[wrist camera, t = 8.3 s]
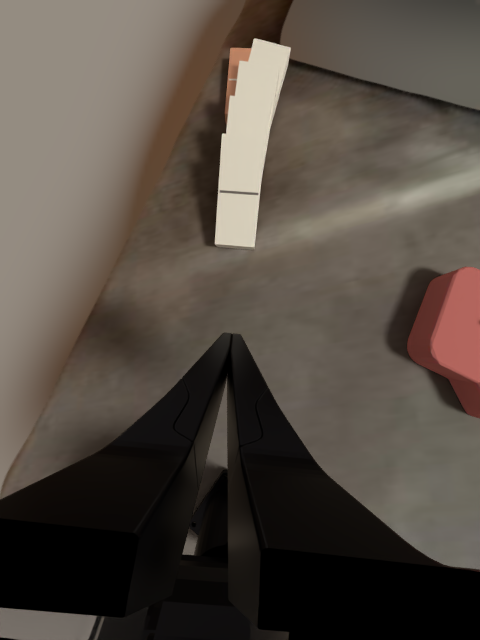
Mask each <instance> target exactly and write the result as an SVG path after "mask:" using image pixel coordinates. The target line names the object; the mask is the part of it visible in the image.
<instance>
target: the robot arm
mask: <svg viewBox="0 0 480 640" xmlns="http://www.w3.org/2000/svg"><path fill="white" fill-rule="evenodd" d="M227 374H228V375H227ZM226 380H227V449H228V470H223V471H222V473H221V474H220V476H219V477H218V479H217V480H216V482H215V483H214V485H213V486H212V488H211V489H210V491H209V492H208V493H207V495H206V496H205V498H204V499H203V501H202V502H201V504H200V505H199V507H198V508H197V510H196V511H195V513H194V514H193V510H194V506H195V502H196V498H197V494H198V490H199V486H200V482H201V478H202V474H203V470H204V466H205V462H206V459H207V455H208V451H209V447H210V443H211V439H212V435H213V431H214V427H215V423H216V419H217V415H218V411H219V407H220V404H221V400H222V396H223V392H224V388H225V384H226ZM224 475H227V476H228V477H224ZM192 514H193V516H192ZM193 522H196V523H195V524H194V523H193ZM189 526H190V528H191V529H192V530H193V531H194V532H195V533H196V534H197V535H198V540H197V544H196V548H195V552H194V555H182V553H183V549H184V545H185V541H186V537H187V533H188V529H189ZM0 640H480V570H478V569H471V568H460V567H450V566H447V565H443V564H441V563H439V562H437V561H435V560H433V559H431V558H429V557H428V556H426V555H424V554H423V553H421V552H420V551H418V550H417V549H415V548H414V547H413V546H411V545H410V544H409V543H408V542H406V541H405V540H404V539H402V538H401V537H400V536H399V535H398V534H396V533H395V532H394V531H393V530H392V529H391V528H389V527H388V526H387V525H386V524H385V523H383V522H382V521H381V520H380V519H379V518H378V517H376V516H375V515H374V514H373V513H372V512H370V511H369V510H368V509H367V508H366V507H365V506H363V505H362V504H361V503H360V502H359V501H357V500H356V499H355V498H354V497H353V496H352V495H350V494H349V493H348V492H347V491H346V490H344V489H343V488H342V487H341V486H340V485H339V484H337V483H336V482H335V481H334V480H333V479H332V478H330V477H329V476H328V475H327V474H326V473H325V472H324V471H323V470H322V468H321V467H320V466H319V465H318V464H317V462H316V461H315V460H314V459H313V457H312V456H311V454H310V453H309V451H308V450H307V448H306V447H305V445H304V444H303V442H302V441H301V439H300V438H299V437H298V435H297V434H296V432H295V431H294V429H293V428H292V426H291V425H290V423H289V422H288V420H287V419H286V417H285V415H284V414H283V412H282V411H281V409H280V408H279V406H278V404H277V402H276V401H275V399H274V397H273V395H272V393H271V391H270V389H269V388H268V386H267V384H266V382H265V380H264V378H263V376H262V374H261V372H260V370H259V368H258V367H257V365H256V363H255V361H254V359H253V357H252V355H251V353H250V351H249V349H248V347H247V345H246V343H245V342H244V340H243V338H242V336H241V335H240V334H231V333H223V334H222V335H221V336H220V337H219V338H218V339H217V340H216V341H215V342H214V343H213V345H212V346H211V347H210V348H209V349H208V350H207V351H206V352H205V353H204V354H203V355H202V357H201V358H200V359H199V360H198V361H197V362H196V363H195V364H194V365H193V366H192V367H191V369H190V370H189V371H188V372H187V373H186V374H185V375H184V376H183V377H182V379H180V380H179V381H178V383H177V384H176V385H175V386H174V387H173V388H172V389H171V390H170V391H169V392H168V393H167V394H166V395H165V396H164V397H163V398H162V399H161V400H160V401H159V402H157V403H156V404H155V405H154V406H153V407H152V408H151V409H150V410H149V411H147V412H146V413H145V414H144V415H143V416H142V417H141V418H139V419H138V420H137V421H136V422H135V423H134V424H133V425H132V426H130V427H129V428H128V429H127V430H126V431H125V432H124V433H122V434H121V435H120V436H119V437H118V438H117V439H115V440H114V441H113V442H111V443H110V444H109V445H107V446H106V447H104V448H103V449H101V450H100V451H98V452H96V453H95V454H93V455H91V456H89V457H87V458H85V459H83V460H81V461H79V462H77V463H74V464H72V465H70V466H68V467H66V468H64V469H62V470H60V471H58V472H56V473H54V474H52V475H50V476H48V477H46V478H44V479H42V480H40V481H37V482H35V483H33V484H31V485H29V486H27V487H25V488H23V489H21V490H19V491H17V492H15V493H13V494H11V495H9V496H7V497H5V498H3V499H0Z"/></svg>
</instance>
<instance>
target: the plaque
mask: <svg viewBox="0 0 480 640" xmlns="http://www.w3.org/2000/svg"><path fill="white" fill-rule="evenodd" d="M407 350H408V353H409V355H410V357H411V358H412V359H413V360H414V361H415V362H416V363H417V364H419V365H421V366H423V367H425V368H427V369H429V370H431V371H434V372H436V373H438V374H440V375H442V376H444V377H446V378H448V379H449V381H450V383H451V385H452V387H453V389H454V391H455V393H456V395H457V397H458V399H459V400H460V402H461V404H462V406H463V408H464V410H465V411H466V413H467V414H469V415H471V416H474V417H477V418H480V270H478V269H476V268H473V267H463V268H461V269H458V270H455V271H452V272H450V273H447V274H444V275H441V276H439V277H436V278H434V279H433V280H432V281H431V282H430V284H429V285H428V288H427V291H426V293H425V296H424V298H423V301H422V304H421V306H420V309H419V312H418V314H417V317H416V319H415V322H414V325H413V327H412V330H411V333H410V335H409V338H408V342H407Z"/></svg>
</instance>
